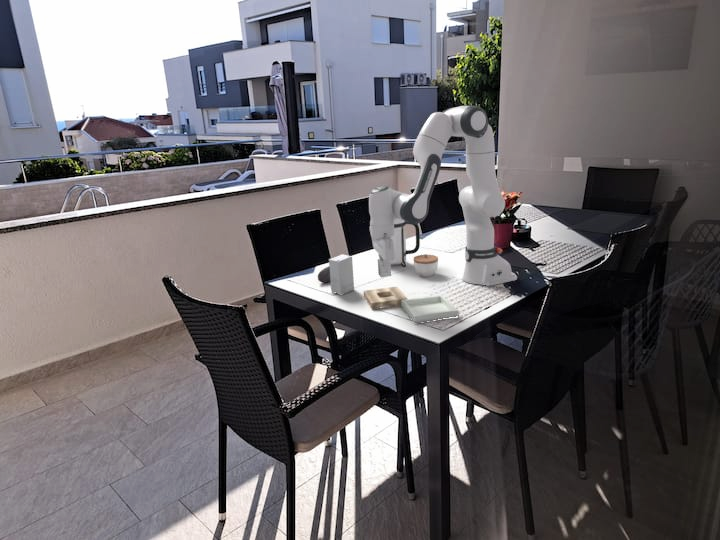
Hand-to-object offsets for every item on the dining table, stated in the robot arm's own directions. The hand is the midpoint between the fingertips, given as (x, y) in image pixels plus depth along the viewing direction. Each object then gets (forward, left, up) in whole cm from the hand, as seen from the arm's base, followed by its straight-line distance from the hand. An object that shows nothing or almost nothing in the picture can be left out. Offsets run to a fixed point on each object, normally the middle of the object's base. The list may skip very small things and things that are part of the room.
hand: (384, 266), depth 187 cm
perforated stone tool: (+16, -32, -14) cm, 39 cm away
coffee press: (-17, -44, -14) cm, 49 cm away
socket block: (0, 0, -14) cm, 14 cm away
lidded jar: (-25, -24, -14) cm, 37 cm away
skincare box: (+14, -16, -14) cm, 26 cm away
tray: (-12, +17, -14) cm, 25 cm away
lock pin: (0, 0, -4) cm, 4 cm away
